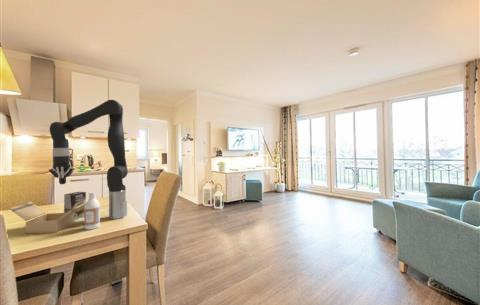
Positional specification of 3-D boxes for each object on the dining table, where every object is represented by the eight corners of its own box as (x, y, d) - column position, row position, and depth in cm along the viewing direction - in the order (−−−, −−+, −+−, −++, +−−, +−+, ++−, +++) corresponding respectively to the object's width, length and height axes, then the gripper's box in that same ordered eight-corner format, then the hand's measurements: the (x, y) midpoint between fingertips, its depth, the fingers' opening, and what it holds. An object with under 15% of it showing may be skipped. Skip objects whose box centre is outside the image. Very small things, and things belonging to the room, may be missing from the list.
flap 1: (45, 212, 115) (30, 201, 114) (26, 220, 103) (9, 207, 102) (45, 213, 115) (30, 202, 114) (25, 220, 103) (8, 208, 102)
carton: (74, 222, 119) (74, 212, 119) (56, 232, 105) (56, 220, 105) (47, 223, 116) (47, 213, 116) (25, 233, 103) (25, 222, 102)
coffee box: (72, 221, 121) (71, 194, 120) (63, 220, 122) (63, 194, 122) (86, 216, 130) (86, 191, 129) (78, 215, 131) (78, 191, 131)
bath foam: (81, 230, 107) (81, 193, 107) (88, 225, 114) (88, 191, 114) (96, 229, 109) (96, 193, 108) (102, 224, 115) (102, 190, 115)
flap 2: (58, 218, 106) (75, 207, 107) (73, 211, 118) (88, 201, 119) (58, 219, 106) (76, 208, 107) (74, 212, 118) (89, 202, 119)
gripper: (77, 155, 125) (78, 182, 125) (53, 155, 122) (54, 183, 123) (69, 155, 117) (71, 184, 118) (43, 156, 115) (45, 185, 115)
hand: (62, 184), depth 120 cm, fingers closed
